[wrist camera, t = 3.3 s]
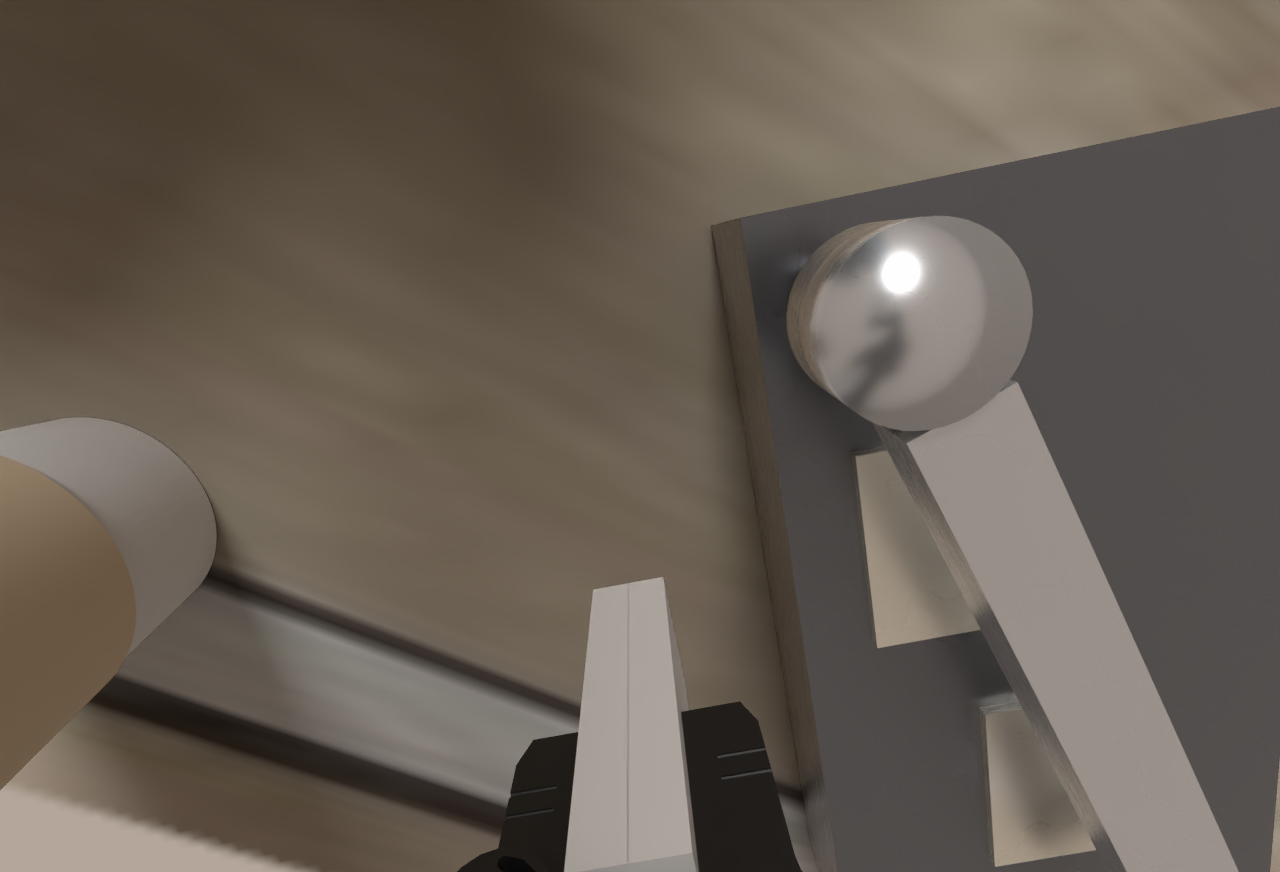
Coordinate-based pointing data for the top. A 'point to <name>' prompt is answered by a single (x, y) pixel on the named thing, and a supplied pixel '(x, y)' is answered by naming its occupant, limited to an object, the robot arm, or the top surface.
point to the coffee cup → (86, 565)
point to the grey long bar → (1003, 514)
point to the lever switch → (1091, 472)
